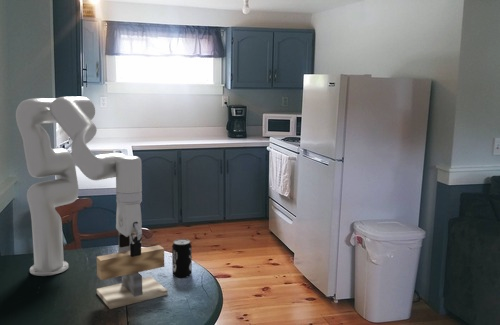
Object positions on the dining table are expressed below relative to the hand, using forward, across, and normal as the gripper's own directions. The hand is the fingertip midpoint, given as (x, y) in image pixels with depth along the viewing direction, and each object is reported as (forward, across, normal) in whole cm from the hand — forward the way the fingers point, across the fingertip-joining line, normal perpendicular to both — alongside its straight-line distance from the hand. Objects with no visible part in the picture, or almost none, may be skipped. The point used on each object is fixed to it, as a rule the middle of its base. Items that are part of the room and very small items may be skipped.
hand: (129, 251), depth 142 cm
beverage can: (+14, -5, +20) cm, 25 cm away
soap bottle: (+14, -25, +8) cm, 30 cm away
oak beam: (+6, +1, 0) cm, 6 cm away
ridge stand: (+14, +1, 0) cm, 14 cm away
